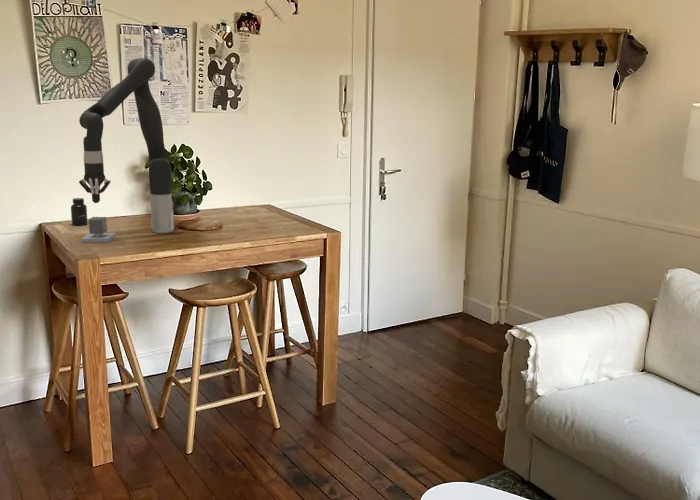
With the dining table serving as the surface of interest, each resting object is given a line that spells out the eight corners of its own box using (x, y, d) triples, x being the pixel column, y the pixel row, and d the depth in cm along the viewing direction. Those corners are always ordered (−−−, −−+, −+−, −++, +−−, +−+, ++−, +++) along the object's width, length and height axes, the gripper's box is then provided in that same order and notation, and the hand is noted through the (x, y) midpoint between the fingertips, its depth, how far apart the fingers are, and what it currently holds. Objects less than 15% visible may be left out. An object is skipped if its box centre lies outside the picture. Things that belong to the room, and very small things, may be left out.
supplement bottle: (82, 226, 322) (80, 200, 319) (68, 225, 324) (66, 199, 321) (90, 223, 329) (88, 198, 326) (77, 222, 330) (75, 197, 327)
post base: (115, 236, 306) (114, 217, 303) (108, 242, 295) (107, 222, 293) (89, 236, 305) (88, 216, 303) (81, 242, 294) (80, 222, 292)
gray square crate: (107, 230, 302) (106, 216, 300) (103, 233, 297) (102, 219, 295) (93, 230, 302) (92, 216, 300) (89, 233, 296) (88, 219, 295)
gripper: (112, 160, 296) (114, 201, 300) (80, 160, 295) (82, 200, 299) (107, 163, 288) (109, 204, 293) (74, 162, 288) (77, 204, 292)
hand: (96, 202), depth 296 cm, fingers closed
